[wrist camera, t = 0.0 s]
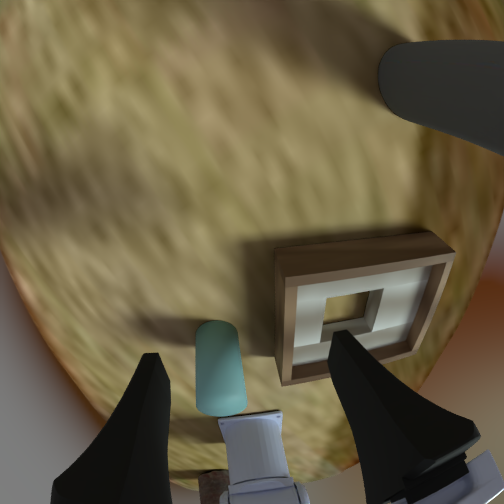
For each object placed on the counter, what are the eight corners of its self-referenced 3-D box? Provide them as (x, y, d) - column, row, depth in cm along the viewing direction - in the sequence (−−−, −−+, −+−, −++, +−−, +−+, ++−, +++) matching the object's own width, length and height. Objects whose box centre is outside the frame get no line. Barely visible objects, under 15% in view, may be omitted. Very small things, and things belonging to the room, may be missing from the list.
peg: (239, 346, 26) (248, 413, 20) (199, 350, 26) (201, 418, 20) (235, 318, 24) (245, 389, 18) (192, 322, 24) (191, 394, 18)
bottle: (435, 128, 18) (608, 218, 5) (372, 112, 17) (586, 204, 4) (443, 58, 15) (625, 99, 2) (379, 32, 14) (596, 33, 1)
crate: (401, 330, 28) (415, 354, 25) (274, 357, 27) (281, 386, 24) (432, 231, 22) (456, 252, 19) (274, 248, 21) (285, 277, 18)
